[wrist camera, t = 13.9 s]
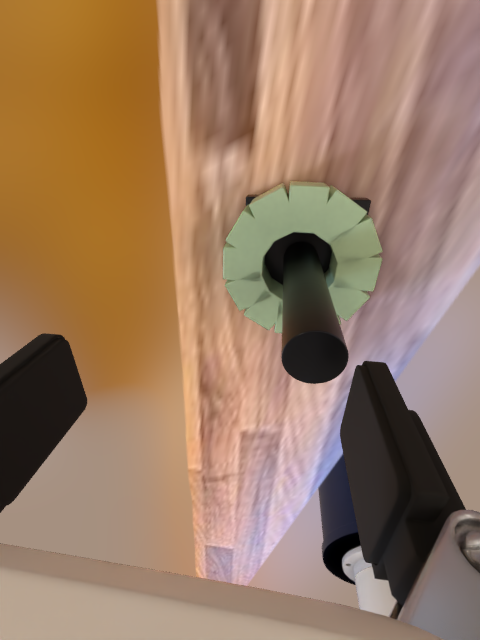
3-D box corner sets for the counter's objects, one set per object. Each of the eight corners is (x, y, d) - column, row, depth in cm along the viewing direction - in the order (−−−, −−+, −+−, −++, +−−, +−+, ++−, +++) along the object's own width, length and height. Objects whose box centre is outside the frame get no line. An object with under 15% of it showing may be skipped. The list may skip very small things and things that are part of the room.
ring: (387, 185, 18) (401, 190, 16) (352, 323, 23) (360, 341, 21) (230, 178, 19) (223, 181, 17) (228, 311, 24) (222, 327, 22)
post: (367, 198, 20) (474, 258, 9) (345, 306, 24) (399, 444, 13) (247, 194, 21) (202, 245, 10) (245, 299, 25) (211, 423, 13)
